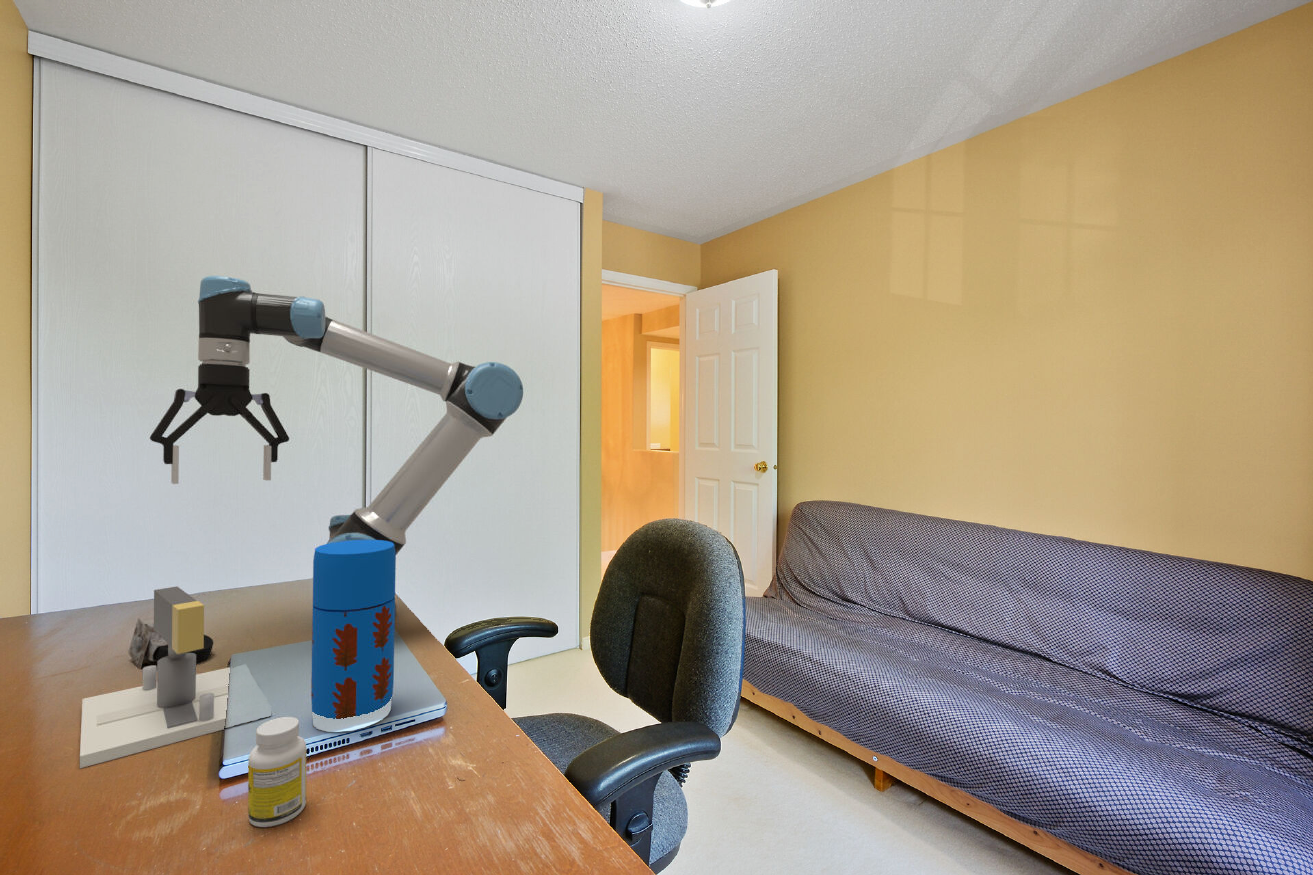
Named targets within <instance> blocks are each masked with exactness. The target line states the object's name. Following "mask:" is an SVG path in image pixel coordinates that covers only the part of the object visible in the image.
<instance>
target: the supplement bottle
mask: <svg viewBox="0 0 1313 875" xmlns="http://www.w3.org/2000/svg"><path fill="white" fill-rule="evenodd" d="M255 731H256V732H255V743H256V746H254V748H253V749H252V750H251V751H250V753H249V755H248V765H247V767H248V770H247V773H248V774H247V776H248V785H247V788H248V789H247V791H248V796H247V797H248V802H247V803H248V808H247V809H248V810H247V812H248V820H249V823H250V824H251V825H253V826H255V827H259V828H269V827H276V826H279V825H282V824H285V823H286V822H289V821H291V820H293V819H294V818H295V817H297V816H299V815H300V813H301V812H302V811H303V810H304V808H305V806H306V804H307V743H306V741H305V739H304V738H303V737H301V736H299V734H300V721H299V719H298V718H297V717H293V716H282V717H278V718H273V719H271V720H268V721H266V722H262V723H261V724H260V725H259V726H258V727H257V728H256V730H255Z"/></svg>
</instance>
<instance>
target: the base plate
mask: <svg viewBox="0 0 1313 875" xmlns="http://www.w3.org/2000/svg"><path fill="white" fill-rule="evenodd" d="M156 663H157V665H155V664H154V665H152V664H151V665H148V666H144V667H143V668H142V685H141V686H137V687H131V688H127V689H123V690H122V689H121V690H118V691H113V692H108V693H104V694H99V695H94V696H90V697H85V698H82V706H81V724H80V725H81V726H80V746H79V748H80V751H79V769H83V768H86V767H90V766H95V765H98V764H102V763H105V762H109V761H113V760H117V759H120V758H124V757H127V756H130V755H134V754H138V753H142V752H145V751H149V750H152V749H156V748H160V747H163V746H168V745H171V744H175V743H178V742H182V741H186V740H190V739H193V738H197V737H200V736H205V735H208V734H211V733H215V732H218V731H222V730H225V729H224V726H225V719H226V710H227V698H228V686H229V685H228V684H229V673H230V667H224V668H220V669H216V670H211V671H207V672H202V673H197V664H196V654H194V653H186V655H185V656H183V657H180V658H173V659H171V658H168V656H166V657H164V658H161V659H160V660H158V662H157V661H156Z"/></svg>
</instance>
